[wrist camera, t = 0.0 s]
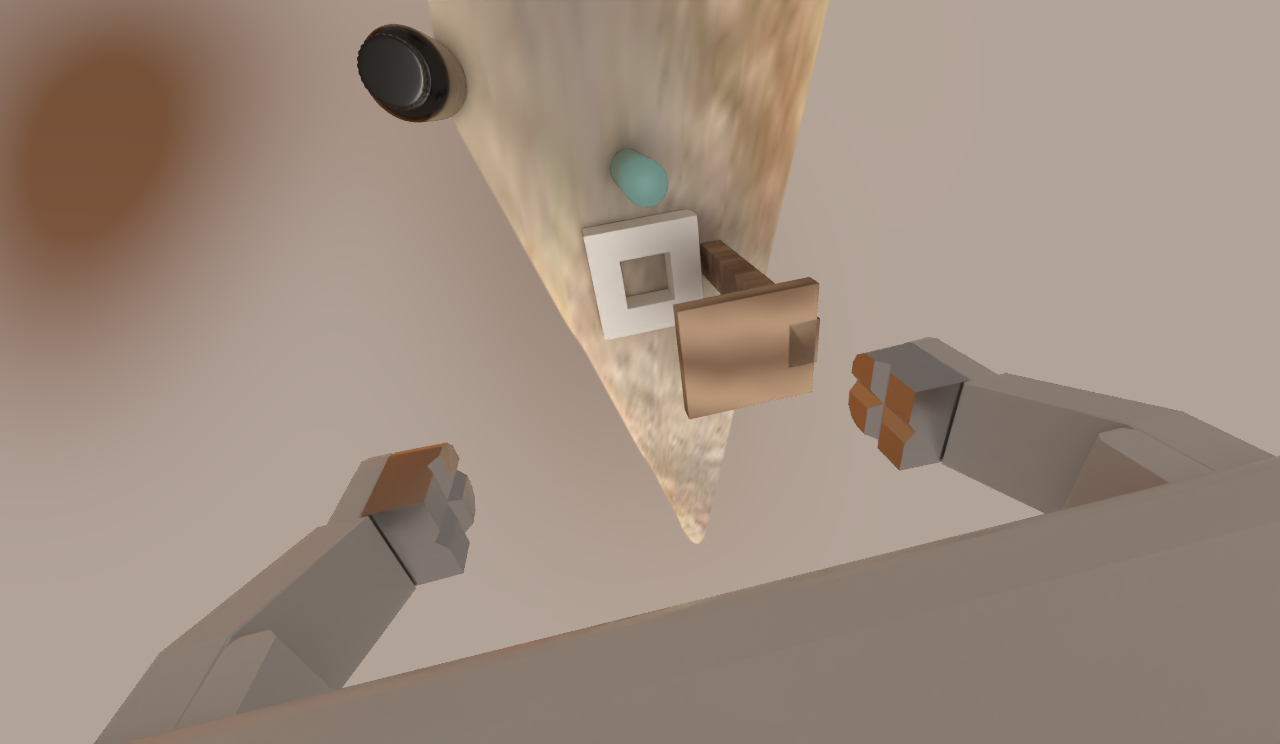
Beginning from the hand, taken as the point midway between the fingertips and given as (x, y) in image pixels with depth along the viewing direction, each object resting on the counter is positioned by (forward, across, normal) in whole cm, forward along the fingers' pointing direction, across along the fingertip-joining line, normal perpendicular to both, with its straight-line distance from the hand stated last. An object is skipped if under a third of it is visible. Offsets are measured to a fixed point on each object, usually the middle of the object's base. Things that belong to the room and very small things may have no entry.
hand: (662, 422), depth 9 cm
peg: (+48, -6, +1) cm, 48 cm away
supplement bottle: (+48, +12, -10) cm, 51 cm away
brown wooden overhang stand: (+48, -11, +13) cm, 51 cm away
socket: (+48, -6, +13) cm, 50 cm away
